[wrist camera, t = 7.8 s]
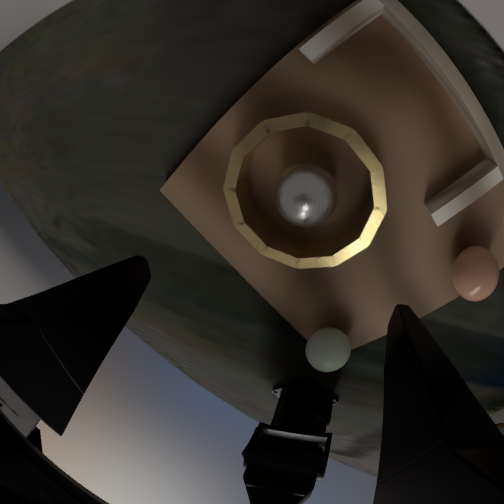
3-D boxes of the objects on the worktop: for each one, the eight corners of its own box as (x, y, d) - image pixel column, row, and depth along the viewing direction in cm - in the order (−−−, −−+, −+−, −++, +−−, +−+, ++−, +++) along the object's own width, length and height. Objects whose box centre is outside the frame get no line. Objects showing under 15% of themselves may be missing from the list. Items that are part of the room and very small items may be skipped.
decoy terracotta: (455, 288, 19) (468, 321, 16) (438, 253, 18) (452, 285, 15) (493, 264, 17) (511, 294, 13) (479, 226, 16) (499, 253, 13)
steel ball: (305, 222, 20) (299, 250, 17) (268, 181, 20) (253, 201, 16) (349, 190, 18) (353, 212, 15) (311, 144, 17) (306, 156, 14)
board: (328, 350, 28) (324, 374, 25) (167, 185, 24) (145, 198, 21) (524, 240, 15) (540, 259, 13) (373, -6, 11) (377, -23, 9)
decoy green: (325, 352, 26) (319, 385, 23) (300, 328, 26) (292, 361, 22) (359, 338, 24) (357, 372, 21) (336, 311, 24) (332, 345, 20)
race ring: (300, 271, 23) (294, 290, 21) (212, 176, 21) (196, 187, 19) (408, 201, 17) (415, 215, 15) (313, 82, 15) (308, 79, 13)
